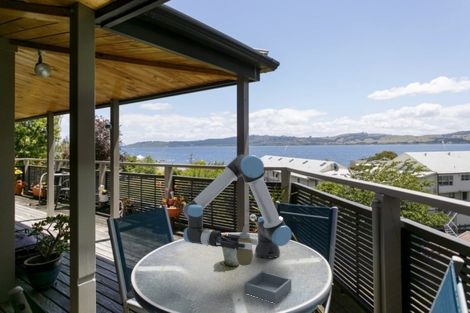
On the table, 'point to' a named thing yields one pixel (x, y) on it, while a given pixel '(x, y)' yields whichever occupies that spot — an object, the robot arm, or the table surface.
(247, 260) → the squeeze bottle
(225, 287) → the table surface
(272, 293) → the bin
